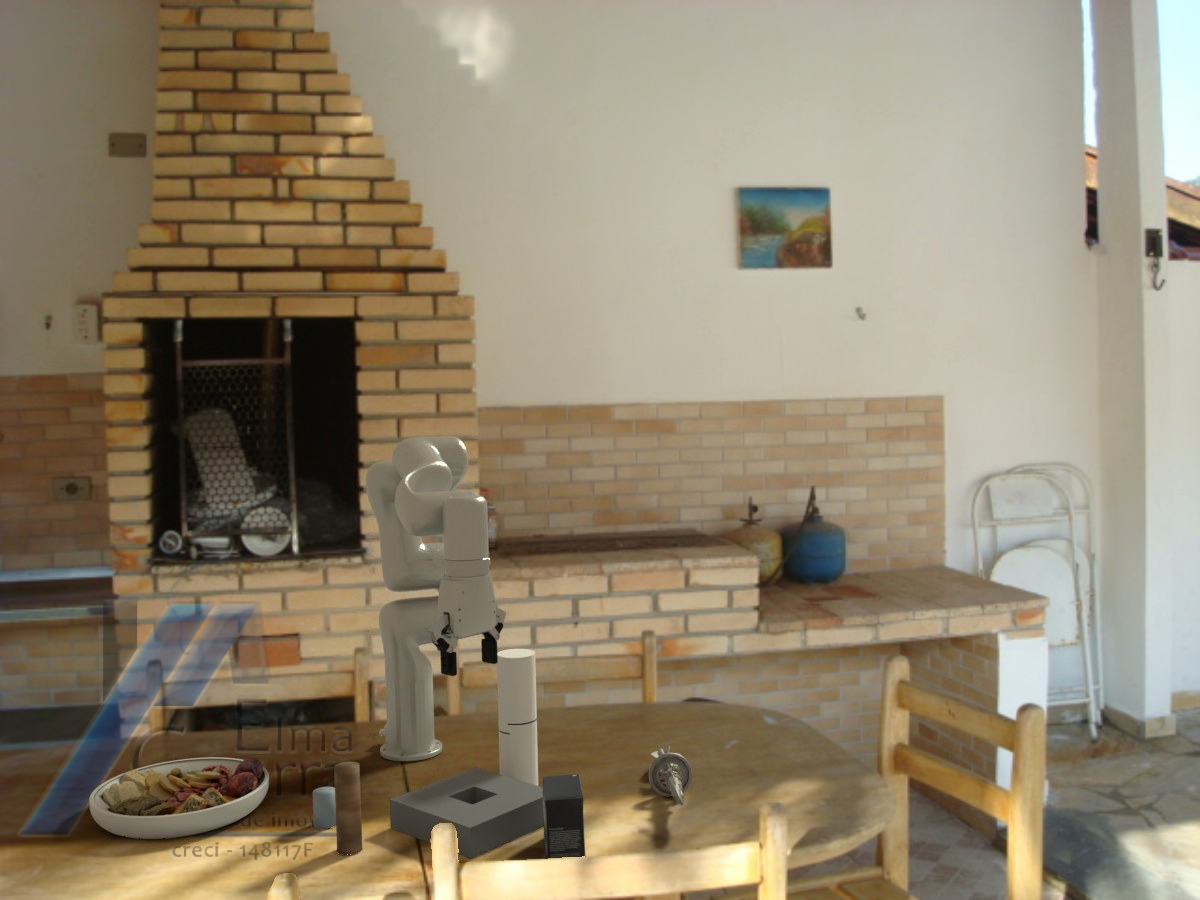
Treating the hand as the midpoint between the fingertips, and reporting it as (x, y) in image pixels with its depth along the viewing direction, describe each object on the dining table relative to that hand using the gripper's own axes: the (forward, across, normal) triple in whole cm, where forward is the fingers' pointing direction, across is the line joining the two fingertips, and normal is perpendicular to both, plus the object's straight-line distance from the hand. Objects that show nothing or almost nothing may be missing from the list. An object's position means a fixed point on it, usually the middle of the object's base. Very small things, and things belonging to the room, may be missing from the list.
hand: (469, 668), depth 192 cm
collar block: (+27, 0, 0) cm, 27 cm away
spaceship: (+27, -30, +20) cm, 45 cm away
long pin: (+27, +19, -9) cm, 34 cm away
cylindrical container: (+27, -18, -7) cm, 33 cm away
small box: (+27, -2, +19) cm, 33 cm away
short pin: (+27, +15, -21) cm, 37 cm away
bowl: (+27, +26, -47) cm, 61 cm away
